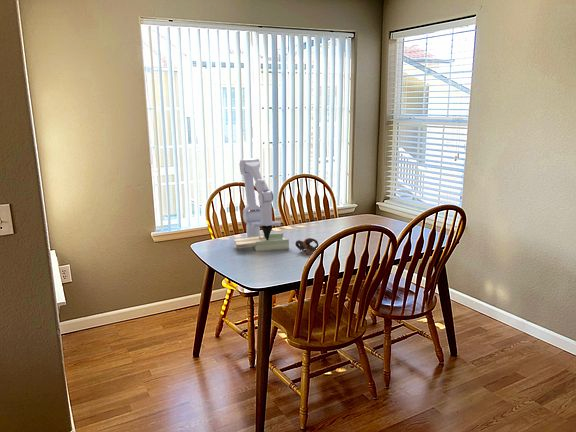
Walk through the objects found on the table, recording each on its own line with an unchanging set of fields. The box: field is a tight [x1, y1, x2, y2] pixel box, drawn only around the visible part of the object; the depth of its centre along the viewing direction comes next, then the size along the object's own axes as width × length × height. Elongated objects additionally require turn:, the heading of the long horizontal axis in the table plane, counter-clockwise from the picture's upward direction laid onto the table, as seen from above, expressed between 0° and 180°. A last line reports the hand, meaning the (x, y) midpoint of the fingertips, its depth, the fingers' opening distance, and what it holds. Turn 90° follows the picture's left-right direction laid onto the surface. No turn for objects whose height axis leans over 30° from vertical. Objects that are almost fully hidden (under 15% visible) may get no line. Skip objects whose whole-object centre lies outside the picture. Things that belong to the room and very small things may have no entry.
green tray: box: [252, 232, 290, 253], centre depth 254 cm, size 13×17×5 cm
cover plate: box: [233, 234, 267, 249], centre depth 252 cm, size 11×15×2 cm
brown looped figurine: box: [295, 237, 320, 256], centre depth 244 cm, size 12×10×8 cm
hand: (266, 239), depth 254 cm, fingers closed
